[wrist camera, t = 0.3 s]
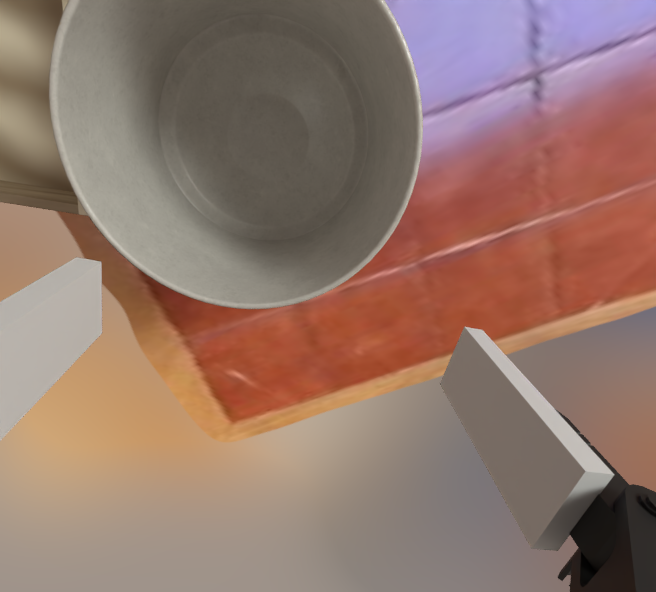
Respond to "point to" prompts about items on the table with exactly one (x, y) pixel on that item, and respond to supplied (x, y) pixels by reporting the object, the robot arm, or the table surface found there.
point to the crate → (30, 108)
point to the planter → (238, 138)
